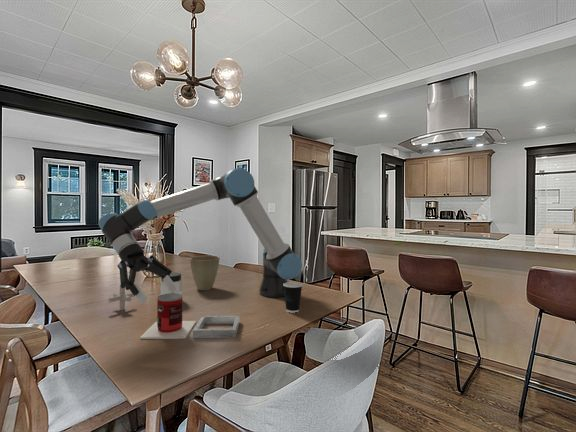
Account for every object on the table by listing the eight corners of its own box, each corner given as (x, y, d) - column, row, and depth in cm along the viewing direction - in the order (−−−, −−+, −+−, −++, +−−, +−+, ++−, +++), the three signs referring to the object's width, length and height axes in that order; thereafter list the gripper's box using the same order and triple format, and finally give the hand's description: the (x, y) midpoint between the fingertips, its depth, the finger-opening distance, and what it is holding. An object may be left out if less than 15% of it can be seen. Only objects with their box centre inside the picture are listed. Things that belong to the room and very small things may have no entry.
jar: (162, 305, 130) (162, 277, 130) (158, 300, 137) (158, 273, 137) (184, 302, 135) (184, 275, 135) (179, 297, 142) (179, 271, 142)
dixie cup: (302, 308, 129) (302, 282, 129) (302, 314, 121) (303, 286, 121) (283, 307, 129) (283, 281, 129) (282, 314, 121) (282, 286, 121)
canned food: (161, 324, 107) (161, 293, 107) (184, 324, 108) (185, 292, 108) (153, 333, 99) (153, 299, 99) (178, 332, 100) (179, 299, 100)
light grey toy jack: (116, 315, 117) (116, 289, 117) (102, 310, 122) (102, 285, 122) (141, 308, 126) (141, 284, 125) (127, 304, 131) (127, 280, 131)
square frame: (239, 322, 112) (239, 315, 112) (235, 337, 98) (235, 330, 98) (202, 322, 111) (202, 315, 111) (192, 338, 97) (192, 330, 97)
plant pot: (184, 288, 159) (184, 257, 159) (210, 283, 169) (211, 254, 169) (197, 294, 148) (198, 261, 148) (224, 289, 158) (225, 258, 158)
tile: (195, 322, 111) (195, 320, 111) (185, 338, 97) (185, 336, 97) (156, 322, 110) (156, 321, 110) (139, 339, 96) (139, 337, 96)
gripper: (150, 252, 122) (180, 293, 117) (89, 261, 99) (122, 314, 94) (160, 239, 120) (191, 281, 115) (100, 246, 97) (135, 299, 92)
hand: (160, 296), depth 104 cm, fingers open, 13 cm apart
